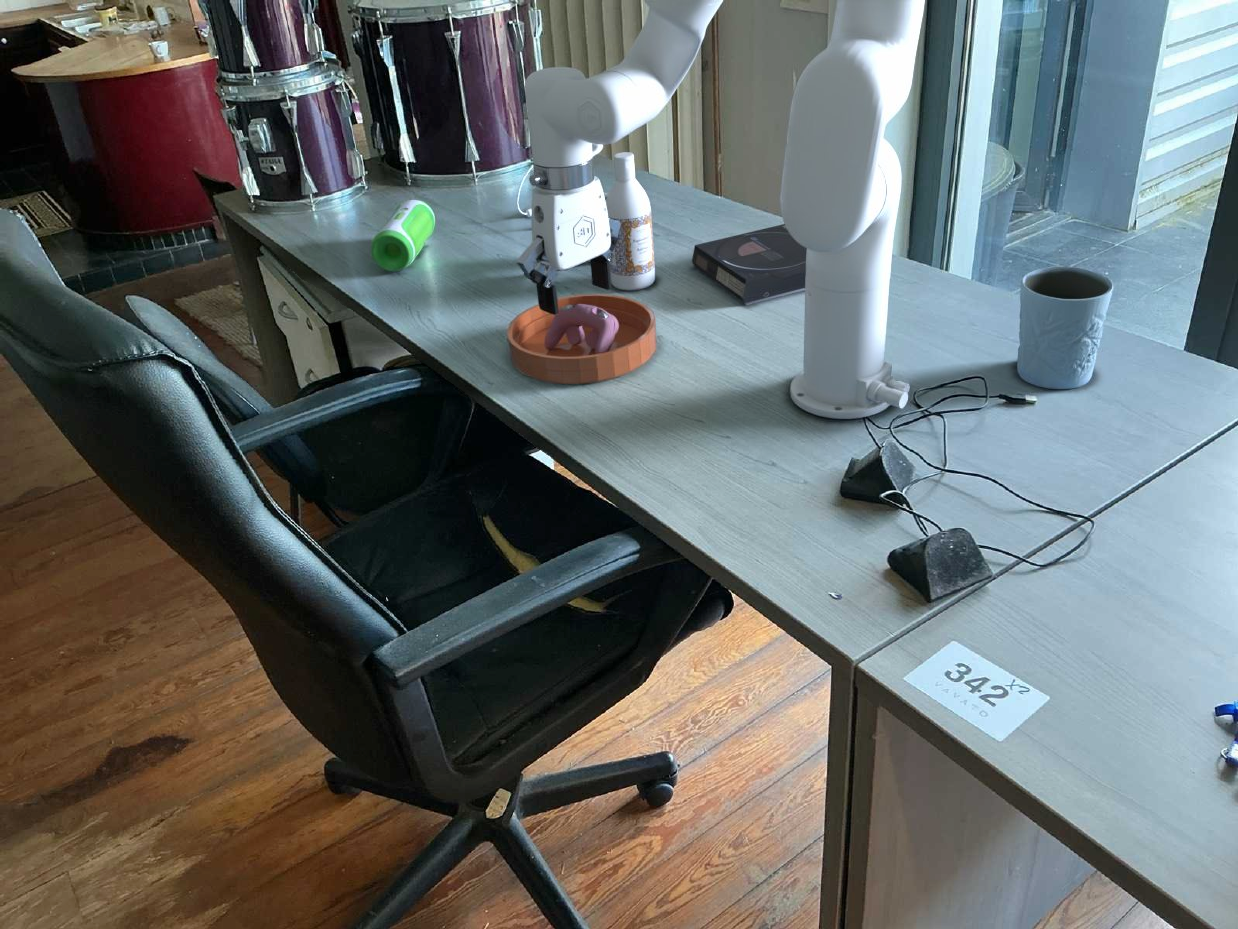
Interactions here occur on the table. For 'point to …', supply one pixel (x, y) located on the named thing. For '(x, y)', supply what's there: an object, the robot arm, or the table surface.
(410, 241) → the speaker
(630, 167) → the bath foam
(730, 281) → the portable cd player
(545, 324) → the catchall bowl
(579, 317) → the video game controller
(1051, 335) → the embossed flower pot
